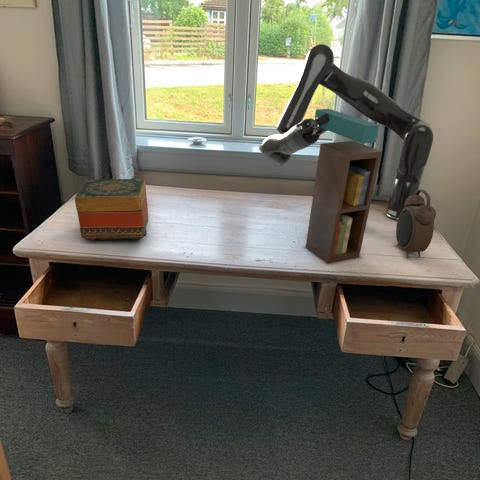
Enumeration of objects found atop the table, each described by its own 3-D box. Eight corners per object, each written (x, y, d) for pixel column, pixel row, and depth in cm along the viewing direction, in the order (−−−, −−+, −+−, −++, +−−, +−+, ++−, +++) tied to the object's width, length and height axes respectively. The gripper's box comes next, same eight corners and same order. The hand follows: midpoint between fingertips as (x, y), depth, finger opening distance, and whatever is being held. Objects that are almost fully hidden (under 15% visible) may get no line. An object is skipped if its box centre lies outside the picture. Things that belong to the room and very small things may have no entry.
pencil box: (313, 125, 141) (315, 109, 139) (326, 124, 143) (328, 108, 141) (362, 143, 125) (365, 125, 123) (376, 142, 127) (379, 124, 125)
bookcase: (305, 247, 152) (320, 143, 135) (335, 241, 157) (353, 140, 140) (328, 263, 144) (347, 154, 126) (359, 257, 149) (381, 151, 131)
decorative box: (142, 252, 145) (145, 198, 137) (69, 241, 144) (67, 187, 135) (154, 228, 163) (157, 180, 154) (88, 219, 161) (88, 169, 153)
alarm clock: (388, 242, 159) (403, 183, 148) (409, 243, 160) (425, 183, 149) (404, 262, 147) (421, 199, 136) (426, 263, 148) (445, 200, 137)
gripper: (280, 124, 147) (312, 103, 132) (318, 122, 153) (353, 101, 138) (285, 149, 148) (317, 131, 133) (322, 146, 154) (357, 128, 139)
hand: (335, 116), depth 136 cm, fingers closed on pencil box, 4 cm apart
